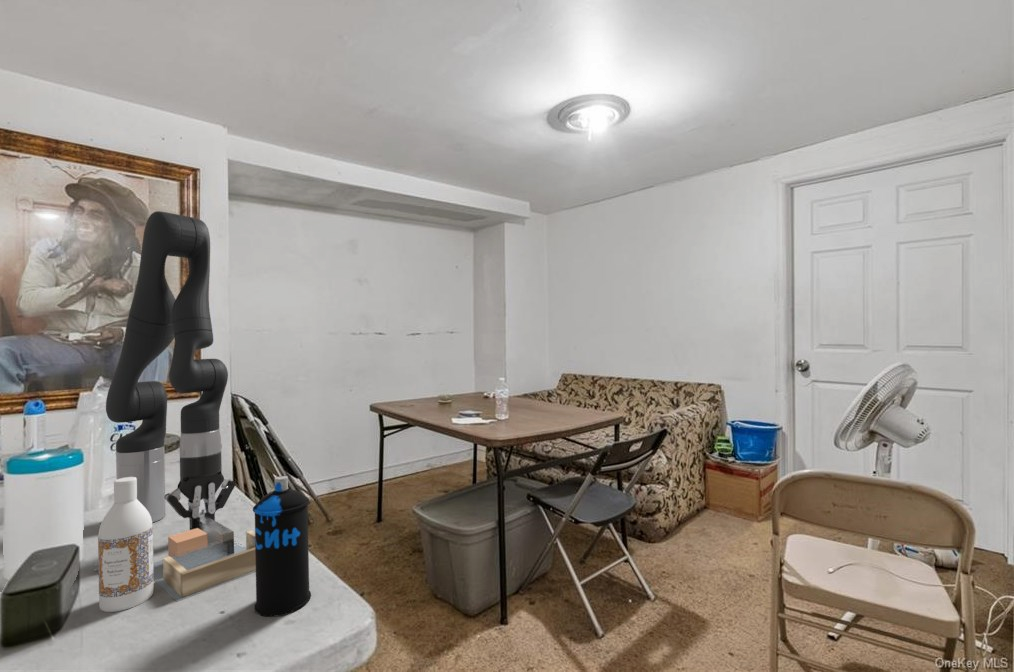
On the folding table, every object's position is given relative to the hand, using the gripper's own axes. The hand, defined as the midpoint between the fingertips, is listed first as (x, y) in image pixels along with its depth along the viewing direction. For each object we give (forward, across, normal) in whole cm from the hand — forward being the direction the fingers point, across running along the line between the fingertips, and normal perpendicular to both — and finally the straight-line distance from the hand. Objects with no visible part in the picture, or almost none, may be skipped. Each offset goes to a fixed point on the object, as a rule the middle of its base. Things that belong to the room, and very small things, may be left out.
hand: (202, 532), depth 101 cm
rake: (+1, +4, +6) cm, 7 cm away
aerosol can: (+2, +2, +39) cm, 39 cm away
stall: (+2, +4, +19) cm, 19 cm away
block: (+1, +6, +10) cm, 12 cm away
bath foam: (+2, +17, +18) cm, 24 cm away
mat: (+2, +4, +15) cm, 15 cm away
